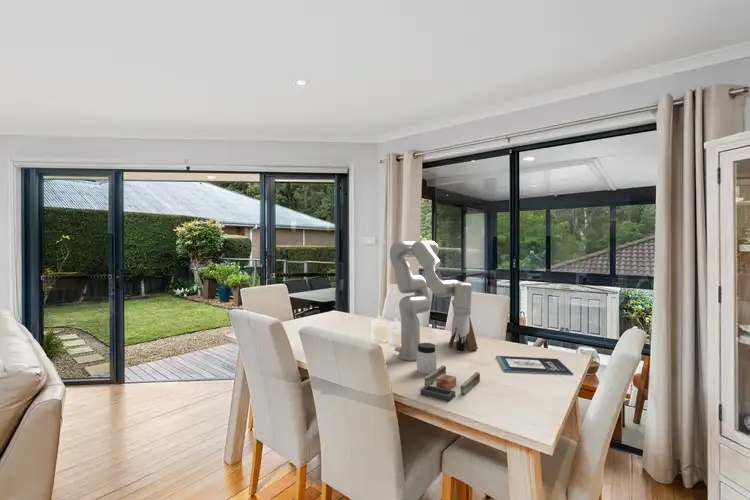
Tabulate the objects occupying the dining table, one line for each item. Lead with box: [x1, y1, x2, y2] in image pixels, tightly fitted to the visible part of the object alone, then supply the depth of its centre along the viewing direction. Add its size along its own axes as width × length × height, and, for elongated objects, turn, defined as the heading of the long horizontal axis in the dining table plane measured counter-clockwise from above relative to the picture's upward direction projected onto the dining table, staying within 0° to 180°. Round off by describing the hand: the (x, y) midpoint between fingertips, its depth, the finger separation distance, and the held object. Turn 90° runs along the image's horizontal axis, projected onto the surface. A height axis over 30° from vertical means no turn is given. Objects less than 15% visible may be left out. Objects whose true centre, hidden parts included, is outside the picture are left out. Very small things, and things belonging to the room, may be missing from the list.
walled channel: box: [424, 365, 481, 396], centre depth 163 cm, size 17×18×4 cm
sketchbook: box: [495, 355, 574, 376], centre depth 185 cm, size 22×30×2 cm
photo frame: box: [448, 299, 478, 352], centre depth 220 cm, size 15×22×25 cm
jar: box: [416, 342, 437, 375], centre depth 178 cm, size 9×8×12 cm
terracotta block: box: [435, 374, 457, 391], centre depth 159 cm, size 6×6×4 cm
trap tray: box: [419, 385, 456, 403], centre depth 150 cm, size 12×6×2 cm, turn 56°
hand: (460, 351), depth 172 cm, fingers closed
